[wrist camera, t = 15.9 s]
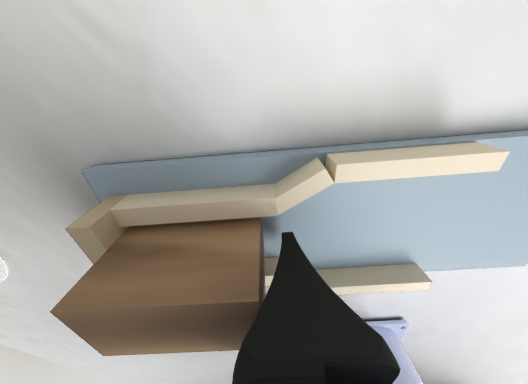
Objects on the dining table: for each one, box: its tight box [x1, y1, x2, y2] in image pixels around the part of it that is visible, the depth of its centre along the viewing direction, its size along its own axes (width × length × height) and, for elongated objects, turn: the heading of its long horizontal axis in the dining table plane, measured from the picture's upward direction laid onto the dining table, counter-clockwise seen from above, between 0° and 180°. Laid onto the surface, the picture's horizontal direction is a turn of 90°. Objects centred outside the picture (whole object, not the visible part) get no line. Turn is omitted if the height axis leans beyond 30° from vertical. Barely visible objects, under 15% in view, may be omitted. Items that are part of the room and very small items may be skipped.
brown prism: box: [50, 217, 265, 356], centre depth 11 cm, size 4×8×6 cm, turn 95°
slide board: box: [66, 130, 528, 295], centre depth 12 cm, size 11×31×4 cm, turn 95°
